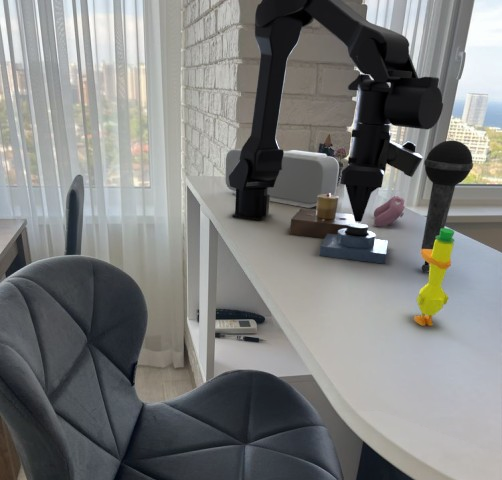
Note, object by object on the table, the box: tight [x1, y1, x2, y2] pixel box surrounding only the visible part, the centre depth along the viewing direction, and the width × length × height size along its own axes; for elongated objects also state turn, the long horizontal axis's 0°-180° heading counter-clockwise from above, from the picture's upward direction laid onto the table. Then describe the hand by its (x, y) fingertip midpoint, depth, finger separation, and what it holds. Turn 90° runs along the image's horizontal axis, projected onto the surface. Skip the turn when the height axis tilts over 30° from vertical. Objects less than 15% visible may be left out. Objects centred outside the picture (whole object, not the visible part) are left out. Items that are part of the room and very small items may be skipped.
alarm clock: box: [224, 147, 340, 209], centre depth 127 cm, size 27×9×12 cm, turn 58°
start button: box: [346, 222, 369, 236], centre depth 88 cm, size 4×4×2 cm
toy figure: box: [413, 227, 455, 327], centre depth 61 cm, size 7×4×12 cm, turn 9°
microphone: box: [420, 139, 474, 273], centre depth 77 cm, size 7×7×20 cm
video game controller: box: [373, 195, 405, 228], centre depth 110 cm, size 10×5×7 cm, turn 168°
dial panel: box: [289, 208, 358, 239], centre depth 101 cm, size 12×10×3 cm
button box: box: [319, 228, 389, 264], centre depth 89 cm, size 11×9×4 cm
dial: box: [315, 193, 339, 219], centre depth 99 cm, size 4×4×4 cm
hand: (358, 221), depth 87 cm, fingers closed
